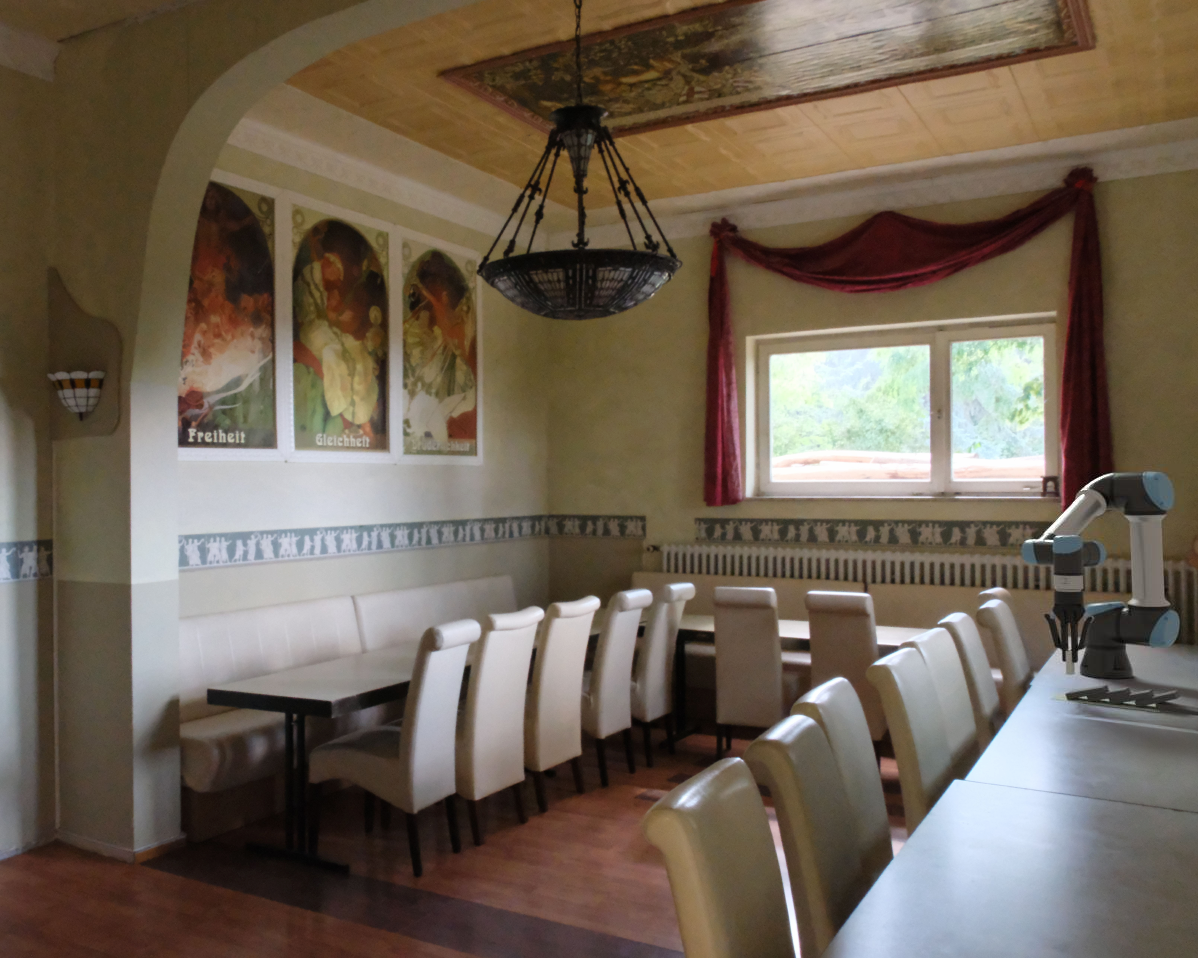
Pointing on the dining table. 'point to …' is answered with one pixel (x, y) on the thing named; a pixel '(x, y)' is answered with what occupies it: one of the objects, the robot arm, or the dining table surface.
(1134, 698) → the domino
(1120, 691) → the domino
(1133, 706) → the strip
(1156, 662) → the dining table surface
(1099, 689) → the domino
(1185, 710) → the domino
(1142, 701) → the domino
